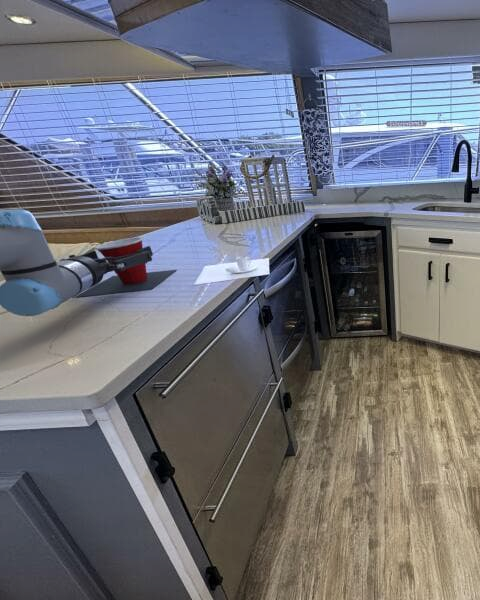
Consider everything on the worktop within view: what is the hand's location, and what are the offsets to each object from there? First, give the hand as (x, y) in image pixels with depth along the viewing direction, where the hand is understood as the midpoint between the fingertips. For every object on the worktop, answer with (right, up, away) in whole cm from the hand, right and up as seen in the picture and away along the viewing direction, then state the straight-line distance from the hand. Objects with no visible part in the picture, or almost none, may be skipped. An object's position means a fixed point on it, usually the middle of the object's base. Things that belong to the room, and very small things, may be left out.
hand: (123, 252), depth 92 cm
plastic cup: (+2, -8, +2) cm, 9 cm away
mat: (+1, -8, +1) cm, 9 cm away
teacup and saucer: (+28, -4, +9) cm, 29 cm away
